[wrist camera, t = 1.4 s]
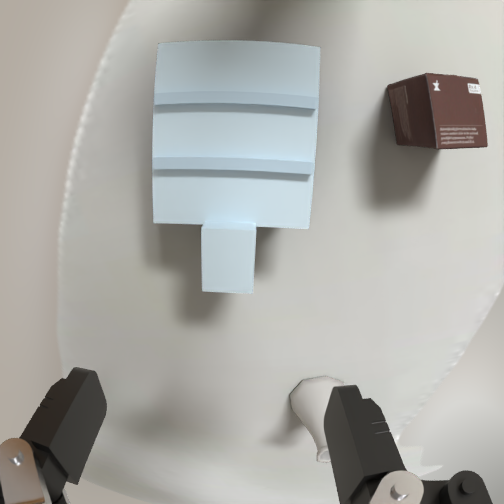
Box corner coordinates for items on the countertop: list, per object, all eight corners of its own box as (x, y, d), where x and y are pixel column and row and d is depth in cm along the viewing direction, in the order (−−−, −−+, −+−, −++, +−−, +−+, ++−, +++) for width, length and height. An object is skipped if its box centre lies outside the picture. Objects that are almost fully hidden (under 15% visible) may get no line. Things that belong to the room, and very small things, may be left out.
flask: (283, 410, 37) (289, 471, 28) (297, 372, 35) (309, 438, 25) (333, 412, 38) (348, 469, 28) (351, 375, 35) (374, 435, 26)
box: (394, 145, 26) (435, 150, 19) (385, 84, 24) (424, 71, 17) (443, 142, 25) (489, 148, 19) (435, 85, 23) (480, 78, 16)
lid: (162, 47, 18) (150, 36, 15) (316, 51, 18) (326, 39, 15) (160, 271, 24) (150, 288, 21) (300, 277, 24) (306, 295, 21)
